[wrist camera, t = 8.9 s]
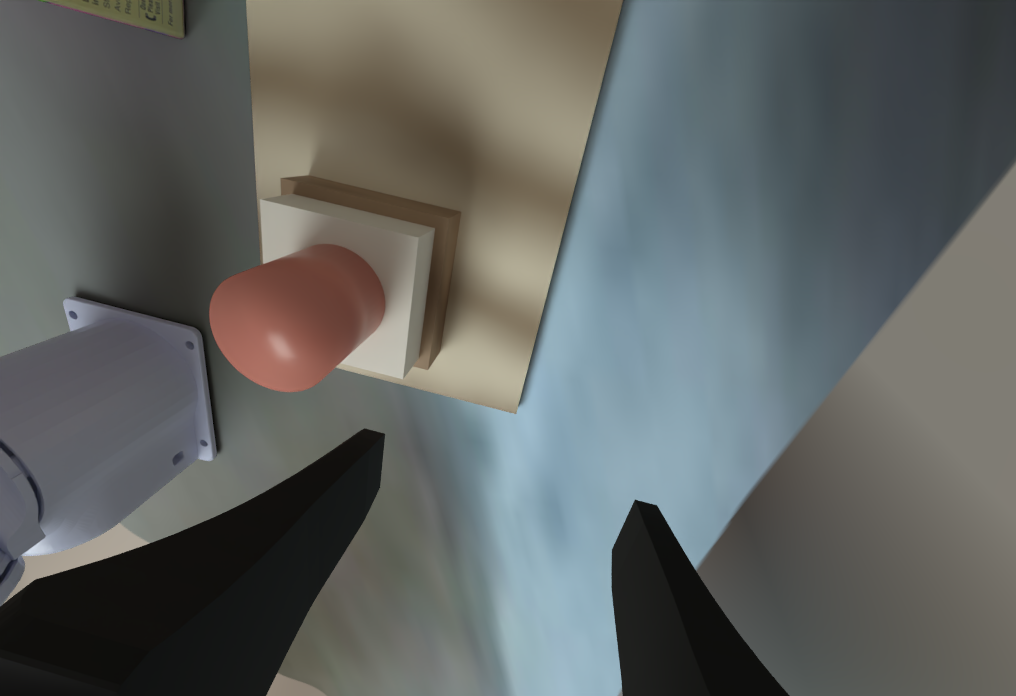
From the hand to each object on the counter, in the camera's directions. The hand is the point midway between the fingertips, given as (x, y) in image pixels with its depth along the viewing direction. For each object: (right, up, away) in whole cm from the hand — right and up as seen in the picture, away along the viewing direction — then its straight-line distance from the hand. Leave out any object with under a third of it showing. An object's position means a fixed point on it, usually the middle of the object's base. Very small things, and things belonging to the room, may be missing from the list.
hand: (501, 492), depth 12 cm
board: (-4, +13, +6) cm, 15 cm away
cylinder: (-7, +6, +5) cm, 10 cm away
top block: (-6, +7, +6) cm, 11 cm away
